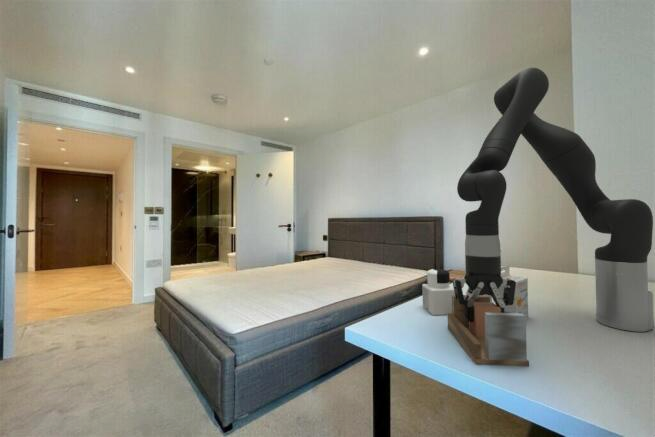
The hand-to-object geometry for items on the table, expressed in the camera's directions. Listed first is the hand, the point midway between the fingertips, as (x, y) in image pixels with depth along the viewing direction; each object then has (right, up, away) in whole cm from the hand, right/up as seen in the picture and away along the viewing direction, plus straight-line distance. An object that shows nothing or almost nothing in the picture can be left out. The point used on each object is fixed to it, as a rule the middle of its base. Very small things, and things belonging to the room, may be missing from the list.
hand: (484, 321), depth 64 cm
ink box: (+15, -4, +11) cm, 19 cm away
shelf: (-2, -4, -4) cm, 6 cm away
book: (0, -3, 0) cm, 3 cm away
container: (-3, -4, +19) cm, 20 cm away
